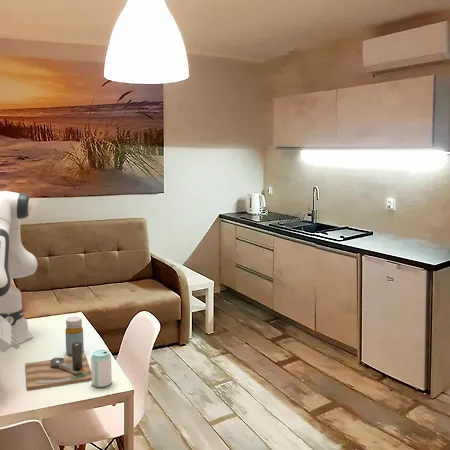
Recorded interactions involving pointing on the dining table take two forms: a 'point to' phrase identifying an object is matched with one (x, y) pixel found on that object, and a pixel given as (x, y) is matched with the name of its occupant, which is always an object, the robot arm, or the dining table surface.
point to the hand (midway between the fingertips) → (18, 346)
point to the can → (101, 368)
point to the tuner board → (54, 374)
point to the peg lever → (76, 360)
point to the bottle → (73, 333)
